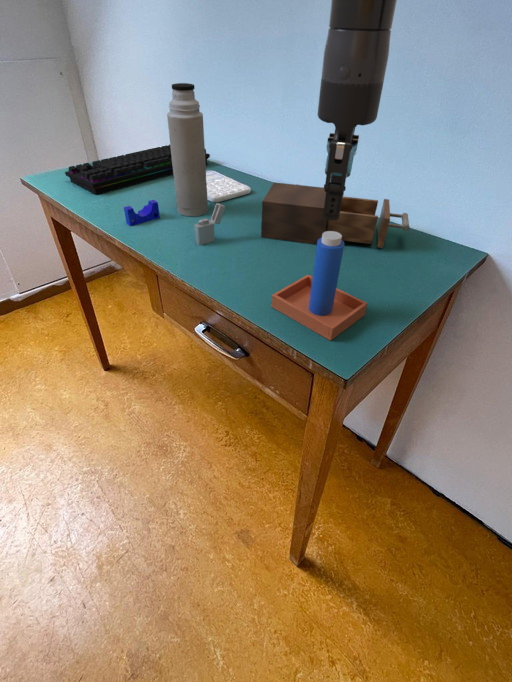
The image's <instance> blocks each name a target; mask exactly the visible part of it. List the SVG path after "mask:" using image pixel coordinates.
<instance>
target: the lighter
mask: <svg viewBox="0 0 512 682" xmlns="http://www.w3.org/2000/svg"><path fill="white" fill-rule="evenodd" d="M225 209H226V205H224V204H222V203H220V202H216V203H215V206H214V209H213V212H212V215H211V217H210V219H208V217H205V218H202V219H199V221H198V223H195V224H194V234H195V235H194V236H195V239H194V240H195V244H196V245H197V246H204V245H206V244H210V243H214V242H216V241H215V240H216V239H215V237H216V236H215V225H220V223H221V220H222V218H223V215H224V212H225Z"/></svg>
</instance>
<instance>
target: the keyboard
mask: <svg viewBox="0 0 512 682" xmlns="http://www.w3.org/2000/svg"><path fill="white" fill-rule="evenodd" d="M210 157H211V155H210V153H207V148H205V163H206V166H208V159H209V158H210ZM64 174H65V176H66V177H68V178H69V180H70V183H72V184H74V185H76V186H78V187H80V188H82V189H84V190H85V191H88V192H89V193H91V194H93V195H95V196H98V195H103V194H107V193H110V192H114V191H117V190H121V189H124V188H128V187H131V186H132V187H133V186H135V185H139V184H143V183H146V182H150V181H153V180H158V179H160V178H164V177H169V176H172V175H173V165H172V156H171V147H170V144H166V145H161V146H157V147H151V148H148V149H143V150H139V151H135V152H130V153H126V154H121V155H117V156H111V157H109V158H102V159H98V160H94V161H92V165H91V164H90V163H89V162H84V163H83V164H81V163H80V164H76V165H71V166H68V170H67V171H64Z"/></svg>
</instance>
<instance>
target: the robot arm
mask: <svg viewBox="0 0 512 682" xmlns="http://www.w3.org/2000/svg"><path fill="white" fill-rule="evenodd" d="M397 1H398V0H331V1H330V2H331V3H330V10H329V11H330V13H329V20H328V21H329V22H328V30H327V36H326V42H325V44H324V45H325V46H324V50H323V58H322V67H321V68H322V69H321V78H320V88H319V96H318V105H317V106H318V107H317V117H318V119H319V120H320V121H321V122H324V123H326V124H333V126H334V133H333V132H330V133H329V137H327V142H326V158H325V159H326V160H325V165H324V174H325V183H324V185H323V188H325V190H324V192H326V197H325V204H324V212H323V218H324V219H328V220H338V218H339V215H340V208H341V202H342V197H344V194H345V191H346V183H347V178H349V177H350V176H351V174H352V169H353V163H354V158H355V156H356V155H357V151H358V146H359V138H360V135H359V134H355V131H356V128H357V126H368V125H371V124H374V122H376V120H377V118H378V114H379V108H380V102H381V97H382V92H383V89H384V88H383V87H384V82H385V77H386V72H387V66H388V62H389V57H390V56H389V55H390V47H391V46H390V45H391V44H390V43H391V34H392V28H393V21H394V16H395V11H396V5H397Z"/></svg>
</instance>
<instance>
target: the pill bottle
mask: <svg viewBox="0 0 512 682" xmlns="http://www.w3.org/2000/svg"><path fill="white" fill-rule="evenodd" d="M341 238H342V235H341V234H340V233H338V232H335V231H326V232H324V233H323V234H322V238H320V239H318V241H317V245H316V249H315V257H314V265H313V270H312V272H313V273H312V276H313V278H312V286H311V293H310V300H309V310H310V312H312V313H313V314H315V315H319V316H325V315H329V314H330V313H331V312H332V309H333V304H334V298H335V293H336V288H337V289H338V287H337V286H338V281H339V277H340V270H341V265H342V259H343V254H344V248H345V241H343V240H341Z"/></svg>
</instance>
